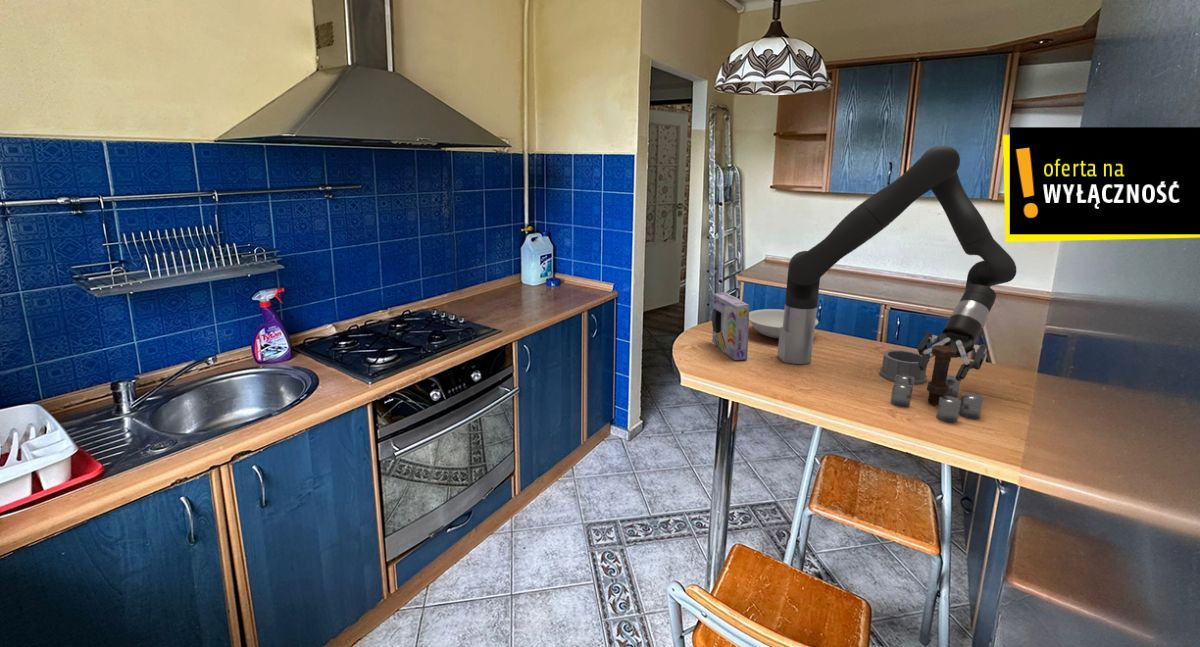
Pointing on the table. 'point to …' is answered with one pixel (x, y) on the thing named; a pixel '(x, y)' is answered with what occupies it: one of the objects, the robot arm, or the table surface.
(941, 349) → the bolt
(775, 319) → the soup bowl
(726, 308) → the cake pan box
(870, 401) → the table surface
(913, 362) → the round gray container
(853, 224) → the robot arm
